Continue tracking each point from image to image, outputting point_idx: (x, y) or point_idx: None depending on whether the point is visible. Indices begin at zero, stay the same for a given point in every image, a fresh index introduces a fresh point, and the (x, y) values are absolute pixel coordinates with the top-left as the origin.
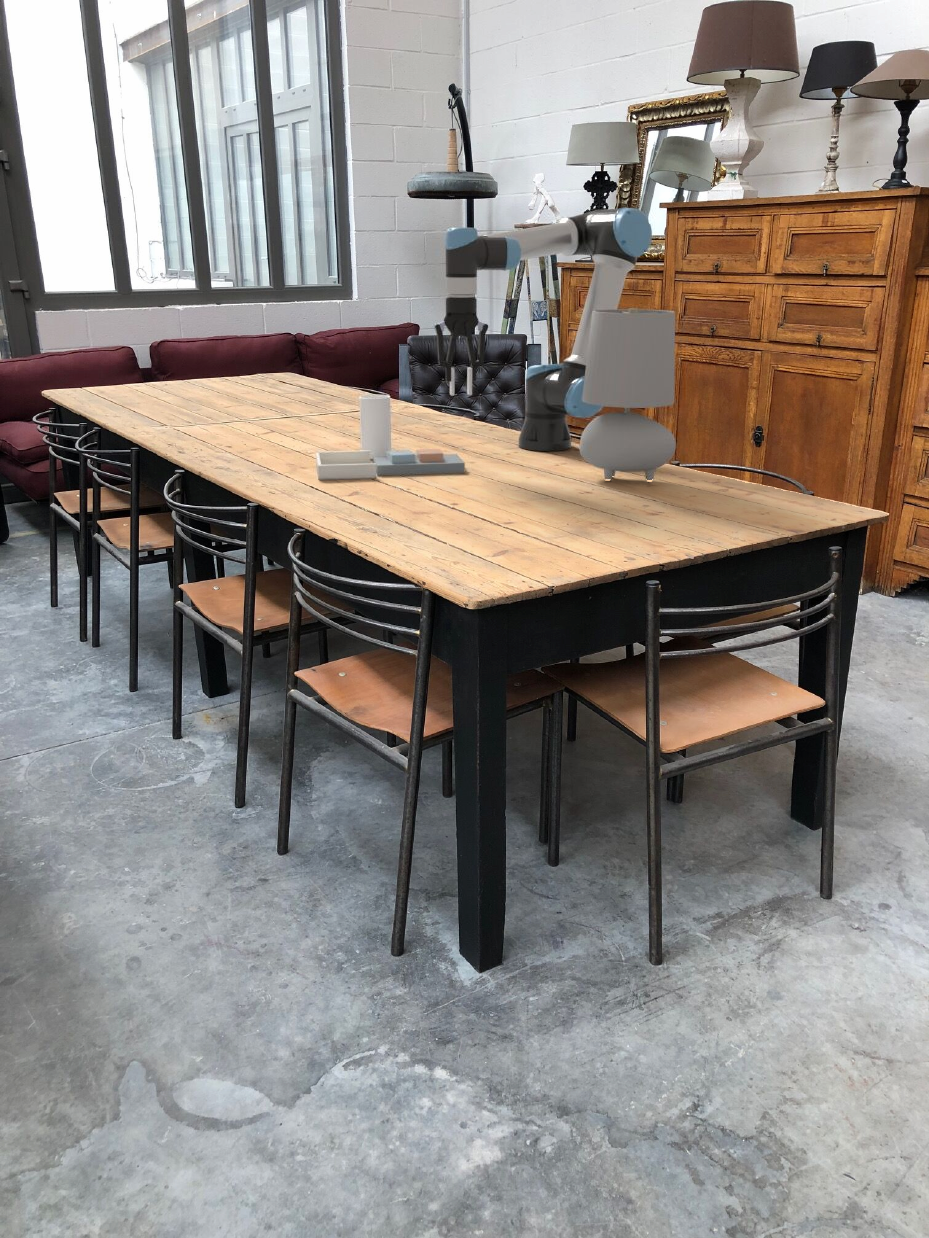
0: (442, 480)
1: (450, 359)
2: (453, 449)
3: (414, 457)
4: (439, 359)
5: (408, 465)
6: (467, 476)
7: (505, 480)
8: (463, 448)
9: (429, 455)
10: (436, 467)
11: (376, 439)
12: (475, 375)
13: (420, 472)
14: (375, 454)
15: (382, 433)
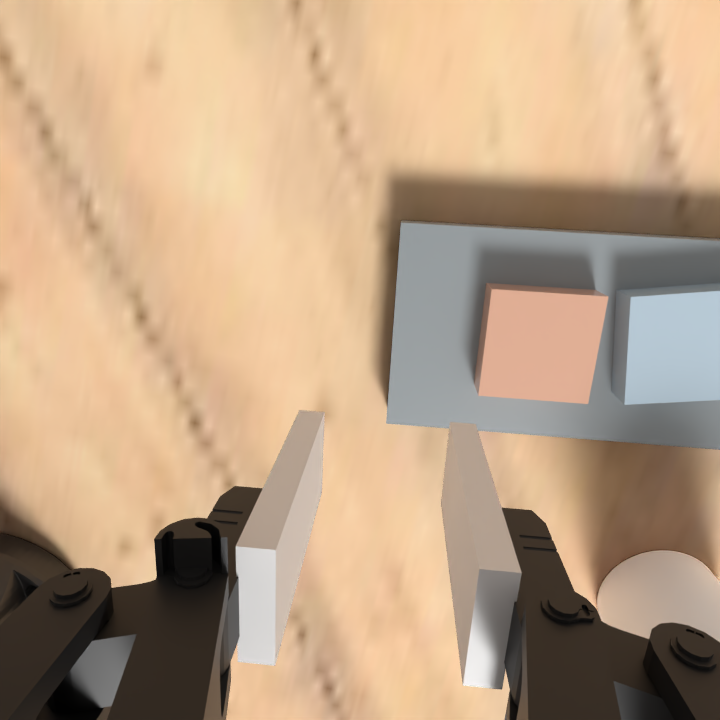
0: (537, 81)
1: (569, 687)
2: (338, 645)
3: (628, 293)
4: None
5: (664, 237)
6: (406, 146)
7: (261, 22)
8: (299, 652)
9: (556, 292)
10: (529, 229)
11: (714, 606)
12: (215, 520)
13: (596, 231)
14: (687, 563)
15: (697, 626)
